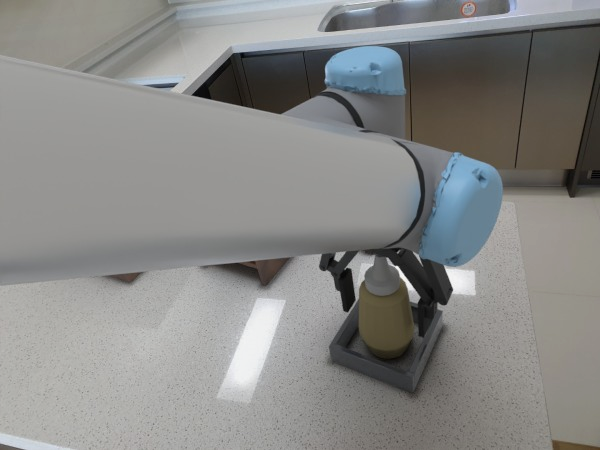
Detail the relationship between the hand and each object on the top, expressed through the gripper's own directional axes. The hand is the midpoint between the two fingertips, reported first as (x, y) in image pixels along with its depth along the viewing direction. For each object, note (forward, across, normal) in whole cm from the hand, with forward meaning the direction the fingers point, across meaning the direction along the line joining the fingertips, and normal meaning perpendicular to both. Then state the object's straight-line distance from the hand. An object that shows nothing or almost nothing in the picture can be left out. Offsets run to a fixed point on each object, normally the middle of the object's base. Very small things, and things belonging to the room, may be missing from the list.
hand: (385, 317), depth 66 cm
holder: (+6, 0, 0) cm, 6 cm away
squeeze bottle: (+6, 0, 0) cm, 6 cm away
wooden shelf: (+6, +33, -10) cm, 35 cm away
